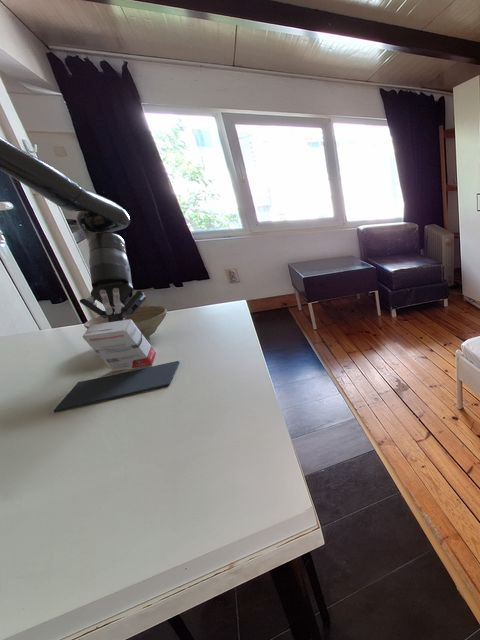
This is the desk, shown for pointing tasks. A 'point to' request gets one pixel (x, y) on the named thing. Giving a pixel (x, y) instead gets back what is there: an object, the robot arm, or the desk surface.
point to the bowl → (139, 319)
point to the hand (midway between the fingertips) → (118, 329)
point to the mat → (118, 385)
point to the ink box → (120, 345)
